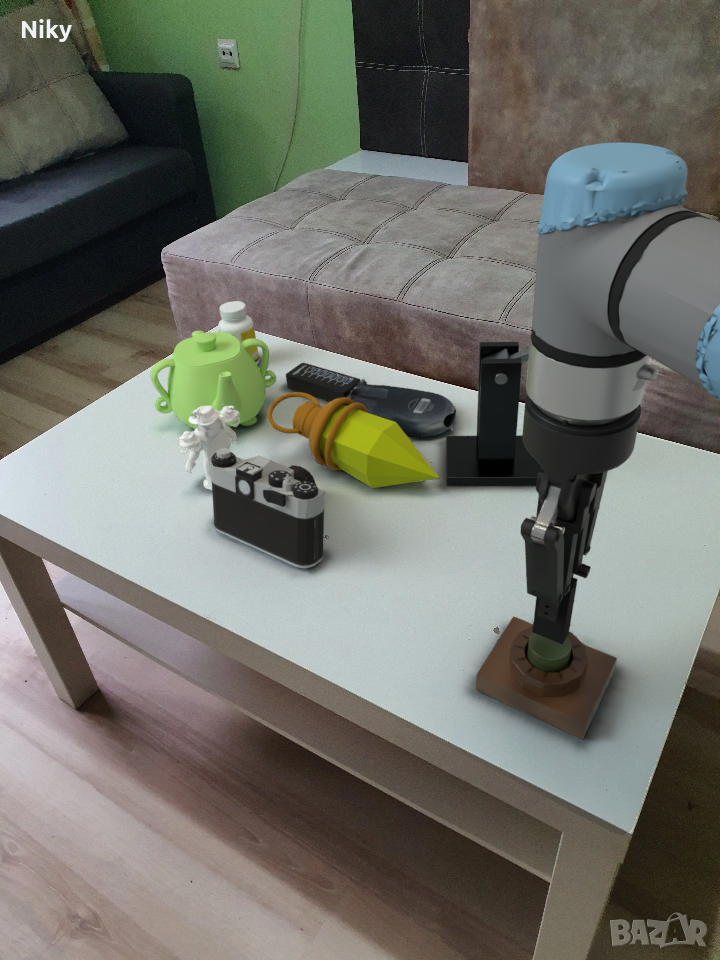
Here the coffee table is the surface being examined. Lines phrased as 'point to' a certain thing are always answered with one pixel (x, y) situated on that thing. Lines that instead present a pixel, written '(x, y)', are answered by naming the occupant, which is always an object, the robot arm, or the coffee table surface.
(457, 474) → the bracket
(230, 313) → the supplement bottle
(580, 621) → the coffee table surface
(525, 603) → the coffee table surface
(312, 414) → the plumb bob
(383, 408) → the electronic device
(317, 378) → the multiport hub
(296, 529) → the camera
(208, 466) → the flower shoulder figurine
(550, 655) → the button
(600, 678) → the button block
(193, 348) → the teapot
